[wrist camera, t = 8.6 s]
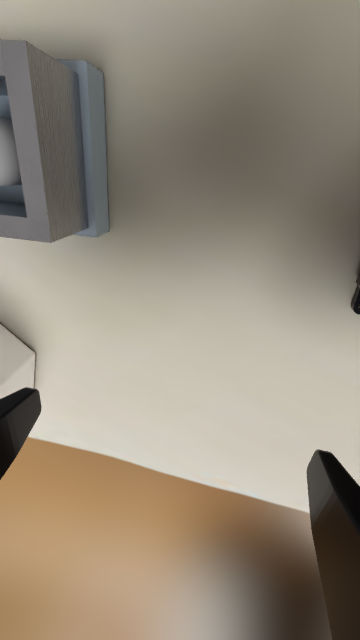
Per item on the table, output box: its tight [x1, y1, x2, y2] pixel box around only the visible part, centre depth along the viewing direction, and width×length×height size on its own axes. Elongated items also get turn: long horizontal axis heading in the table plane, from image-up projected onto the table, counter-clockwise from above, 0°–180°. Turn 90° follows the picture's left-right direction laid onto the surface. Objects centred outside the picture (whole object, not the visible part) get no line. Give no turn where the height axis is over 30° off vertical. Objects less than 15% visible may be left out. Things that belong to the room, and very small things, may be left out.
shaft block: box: [0, 59, 109, 237], centre depth 15 cm, size 8×8×6 cm
